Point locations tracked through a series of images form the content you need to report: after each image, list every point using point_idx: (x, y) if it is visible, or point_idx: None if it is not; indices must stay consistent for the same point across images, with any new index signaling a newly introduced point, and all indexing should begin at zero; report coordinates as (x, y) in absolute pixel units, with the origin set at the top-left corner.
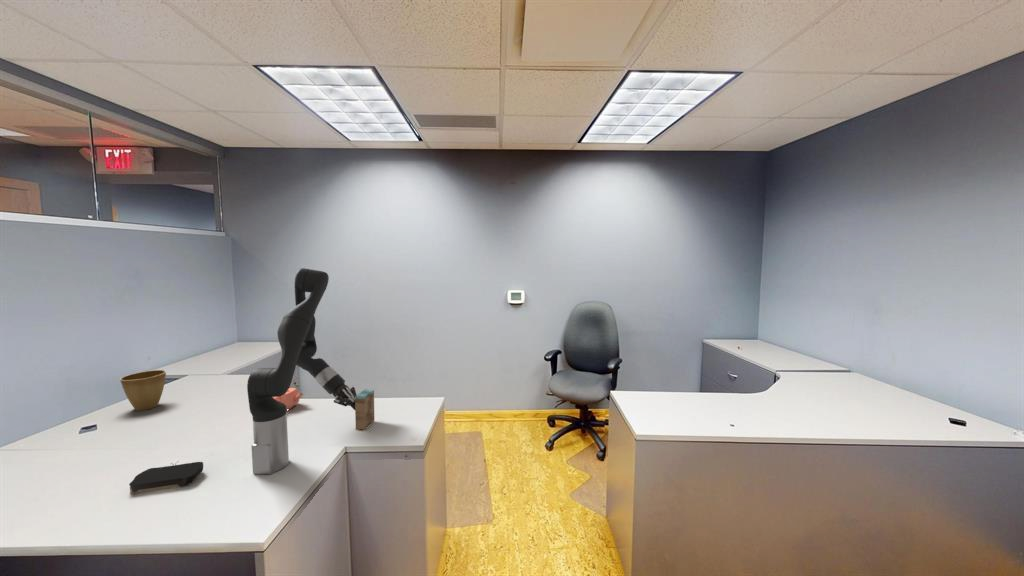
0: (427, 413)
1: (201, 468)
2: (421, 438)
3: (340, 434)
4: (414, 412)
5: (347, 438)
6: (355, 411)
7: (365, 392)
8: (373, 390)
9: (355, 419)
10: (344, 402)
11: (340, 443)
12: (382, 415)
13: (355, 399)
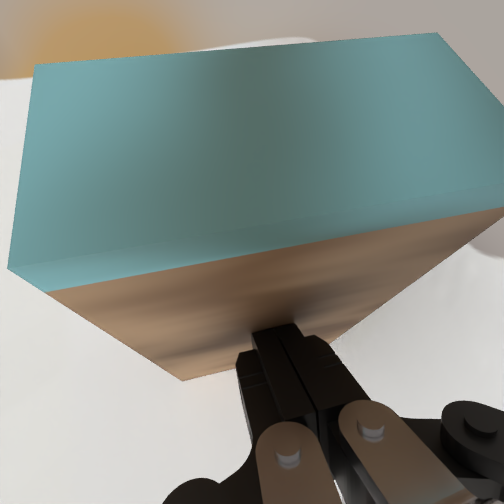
0: (22, 96)
1: None
2: (272, 39)
3: (424, 405)
4: (4, 155)
5: (430, 310)
6: (385, 299)
7: (255, 115)
8: (66, 71)
9: (352, 326)
10: None
11: (489, 305)
12: (59, 319)
13: (493, 212)
